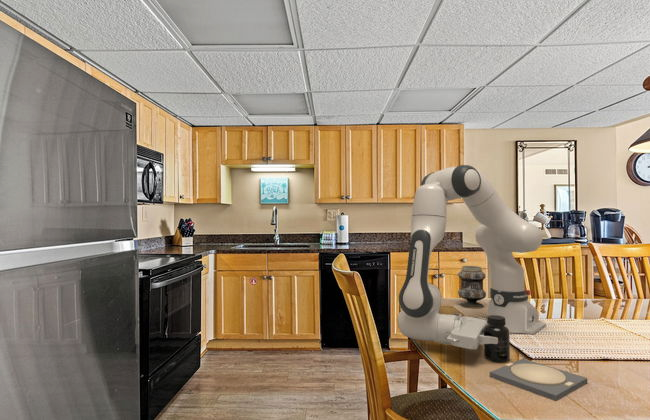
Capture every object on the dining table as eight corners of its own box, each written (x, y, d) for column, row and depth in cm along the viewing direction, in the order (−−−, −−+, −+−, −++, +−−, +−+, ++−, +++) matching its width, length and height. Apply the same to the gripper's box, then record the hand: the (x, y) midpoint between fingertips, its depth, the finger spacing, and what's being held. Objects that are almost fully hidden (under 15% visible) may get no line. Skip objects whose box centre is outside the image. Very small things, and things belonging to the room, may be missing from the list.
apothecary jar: (490, 305, 177) (489, 266, 177) (480, 310, 168) (479, 269, 168) (464, 301, 185) (464, 264, 185) (453, 306, 176) (453, 266, 177)
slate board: (523, 362, 108) (522, 356, 108) (587, 382, 94) (587, 375, 94) (489, 376, 99) (489, 369, 99) (555, 400, 85) (555, 392, 85)
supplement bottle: (479, 355, 114) (479, 314, 114) (501, 354, 115) (501, 313, 115) (491, 363, 107) (490, 320, 107) (515, 362, 108) (514, 319, 108)
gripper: (441, 328, 109) (494, 335, 102) (457, 312, 126) (503, 317, 119) (442, 350, 109) (495, 359, 102) (457, 331, 126) (503, 337, 119)
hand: (499, 336), depth 111 cm, fingers closed on supplement bottle, 7 cm apart
